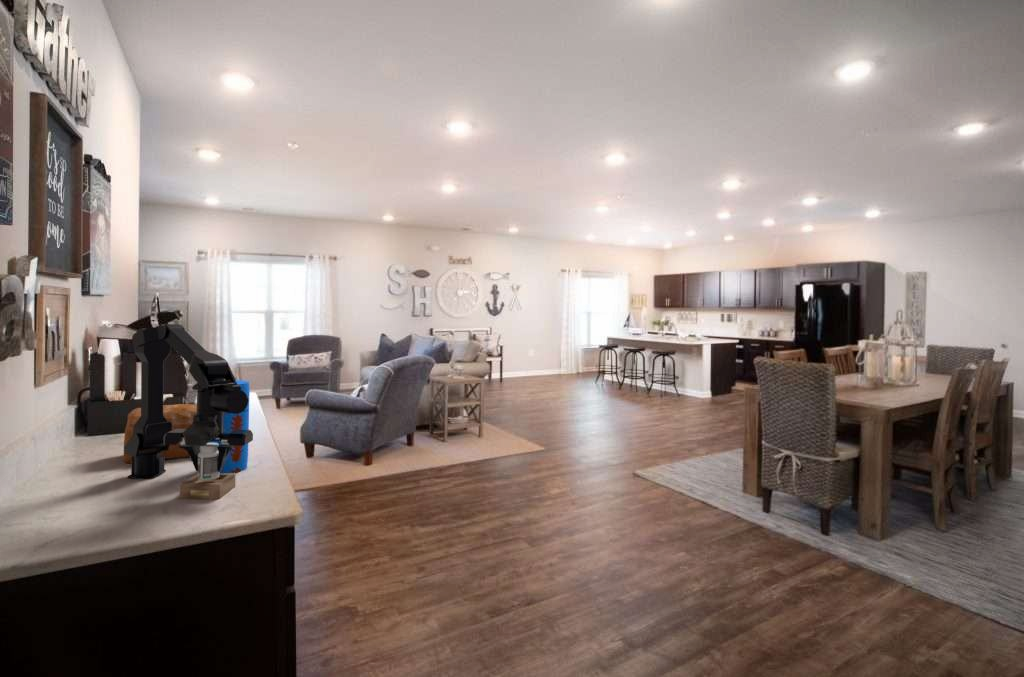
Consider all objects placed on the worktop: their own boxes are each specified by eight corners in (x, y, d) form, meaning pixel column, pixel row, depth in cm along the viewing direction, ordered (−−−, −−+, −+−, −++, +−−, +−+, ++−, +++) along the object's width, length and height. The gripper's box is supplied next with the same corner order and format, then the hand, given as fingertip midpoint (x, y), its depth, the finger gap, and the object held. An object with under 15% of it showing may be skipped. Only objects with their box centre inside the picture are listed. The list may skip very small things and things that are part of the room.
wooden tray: (179, 499, 123) (179, 484, 123) (198, 486, 132) (198, 473, 132) (219, 499, 124) (219, 484, 124) (235, 486, 133) (235, 473, 133)
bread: (226, 454, 163) (227, 405, 162) (123, 465, 147) (124, 411, 146) (220, 444, 174) (221, 398, 173) (123, 454, 158) (123, 404, 157)
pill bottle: (223, 476, 129) (224, 443, 129) (208, 482, 125) (209, 447, 124) (208, 474, 131) (209, 441, 130) (192, 479, 126) (193, 445, 126)
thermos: (217, 477, 140) (219, 386, 139) (197, 469, 145) (198, 382, 145) (255, 468, 149) (257, 382, 148) (235, 461, 155) (236, 379, 154)
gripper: (150, 414, 118) (149, 481, 119) (236, 416, 120) (234, 481, 121) (176, 406, 129) (175, 467, 130) (254, 407, 131) (252, 468, 132)
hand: (208, 471), depth 128 cm, fingers closed on pill bottle, 5 cm apart
